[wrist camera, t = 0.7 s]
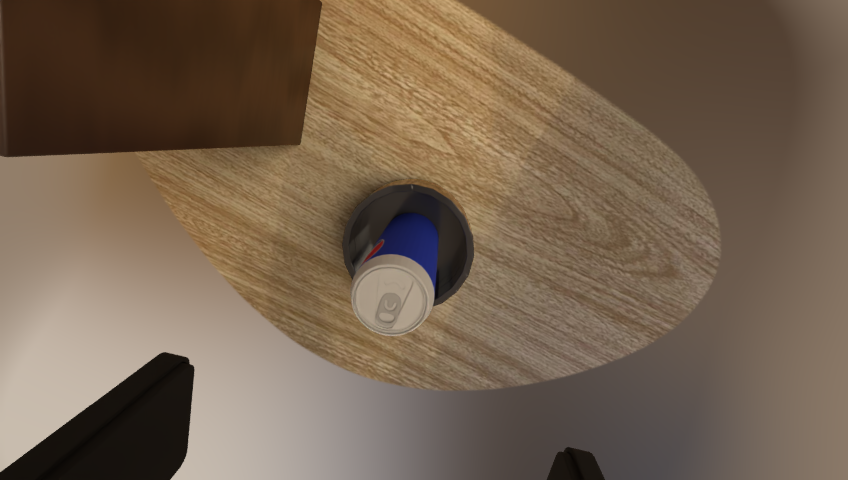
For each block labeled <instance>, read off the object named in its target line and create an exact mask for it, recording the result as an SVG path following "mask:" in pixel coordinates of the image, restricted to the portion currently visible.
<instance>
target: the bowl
mask: <svg viewBox="0 0 848 480" xmlns="http://www.w3.org/2000/svg"><path fill="white" fill-rule="evenodd" d="M405 213H416V214H420V215H423V216H425V217H426V218H428V219H429V220H430V221H431V222H432V223H433V224H434V226H435V228H436V230H437V232H438V238H439V243H438V256H437V270H436V283H435V297H434V303H433V306H436V305H438V304H441V303H443V302H444V301H446V300H447V299H448V298H450V297H451V296H452V295H453V294H455V293H456V292H457V291H458V290H459V288H460V287H461V286H462V284H463V283H464V281H465V280H466V278H467V277H468V275H469V272H470V269H471V265H472V262H473V258H474V244H473V234H472V230H471V227H470V224H469V221H468V219H467V216H466V213H465V211H464V209H463V207H462V206H461V205H460V203H459V202H458V201H457V200H456V199H455V197H454V196H453V195H452V194H451V193H450V192H448V191H447V190H445V189H444V188H442V187H441V186H438V185H437V184H435V183H431V182H428V181H425V180H419V179H403V180H396V181H394V182H391V183H389V184H386V185H384V186H382V187H380V188H378V189H377V190H375V191H374V192H373V193H371V194H370V195H369V196H368V197H367V198H366V199H364V200H363V201H362V202H361V203H360V204H359V205H358V206H357V207H356V208H355V209H354V211H353V213H352V215H351V216H350V218H349V220H348V222H347V223H346V227H345V232H344V237H343V242H342V247H343V254H344V262H345V265H346V267H347V269H348V271H349V274H350V276H351V278H352V280H353V277H354V275H355V274H356V272H357V270H358V269H359V267H360V266H361V264H362V263H363V261H364V260H365V258H366V257H367V255H368V254H369V252H370V251H371V250H372V248H373V247H374V245H375V244H376V242H377V241H378V239H379V238H380V236H381V235H382V233H383V232H384V230H385V229H386V227H387V226H388V224H389V223H390V222H391V221H392V220H393V219H394V218H395V217H397V216H399V215H401V214H405Z"/></svg>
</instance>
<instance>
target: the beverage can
mask: <svg viewBox="0 0 848 480" xmlns="http://www.w3.org/2000/svg"><path fill="white" fill-rule="evenodd" d="M438 243H439V238H438V232H437V230H436V228H435V226H434V224H433V223H432V222H431V221H430V220H429V219H428V218H426V217H425V216H423V215H420V214H416V213H405V214H401V215H399V216H397V217H395V218H394V219H393V220H392V221H391V222H390V223H389V224H388V226H387V227H386V229H385V230H384V232H383V233H382V235H381V236H380V238H379V239H378V241H377V242H376V244H375V245H374V247H373V248H372V250H371V251H370V252H369V254H368V255H367V257H366V258H365V260H364V261H363V263H362V264H361V266H360V267H359V269H358V270H357V272H356V274H355V275H354V277H353V280H352V283H351V302H352V307H353V310H354V313H355V314H356V316H357V318H358V319H359V320H360V322H361V323H362V324H363V325H364V326H365V327H367V328H368V329H370V330H371V331H373V332H375V333H378V334H381V335H386V336H399V335H403V334H406V333H409V332H411V331H413V330H414V329H416V328H417V327H418V326H419V325H420V324H421V323H422V322H424V320H425V319H426V318H427V317H428V315H429V314H430V312H431V310H432V307H433V303H434V297H435V283H436V270H437V256H438Z"/></svg>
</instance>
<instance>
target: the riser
mask: <svg viewBox="0 0 848 480" xmlns="http://www.w3.org/2000/svg"><path fill="white" fill-rule="evenodd" d="M321 6H322V2H321V1H320V0H0V156H4V157H20V156H45V155H68V154H92V153H114V152H139V151H162V150H186V149H209V148H233V147H256V146H280V145H300V143H301V136H302V130H303V123H304V116H305V110H306V103H307V97H308V90H309V84H310V77H311V71H312V64H313V58H314V51H315V45H316V38H317V32H318V25H319V19H320V12H321Z"/></svg>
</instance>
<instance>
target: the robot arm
mask: <svg viewBox="0 0 848 480" xmlns="http://www.w3.org/2000/svg"><path fill="white" fill-rule="evenodd" d="M193 379H194V366H193V365H190V364H189V359H188V358H187V357H183V356H179V355H174V354H170V353H166V352H164V353H161V354H159V355H158V356H156V357H155V358H154V359H152V360H151V361H150V362H148V363H147V364H145V365H144V366H143V367H142V368H140V369H139V370H137V371H136V372H135V373H133V374H132V375H131V376H129V377H128V378H127V379H126V380H124V381H123V382H121V383H120V384H119V385H117V386H116V387H115V388H113V389H112V390H111V391H109V392H108V393H107V394H105V395H104V396H103V397H101V398H100V399H99V400H97V401H96V402H95V403H93V404H92V405H90V406H89V407H87V408H86V409H85V410H84V411H82V412H81V413H79V414H78V415H77V416H75V417H74V418H73V419H71V420H70V421H69V422H67V423H66V424H65V425H63V426H62V427H61V428H59V429H58V430H56V431H55V432H54V433H52V434H51V435H50V436H48V437H47V438H46V439H44V440H43V441H42V442H40V443H39V444H38V445H36V446H35V447H34V448H33V449H31V450H30V451H28V452H27V453H26V454H24V455H23V456H22V457H20V458H19V459H18V460H16V461H15V462H14V463H12V464H11V465H10V466H8V467H7V468H5V469H4V470H3V471H2V472H0V480H170V479H171V478H172V477H173V475H174V474H175V473H176V472H177V471H178V469H179V468H180V467H181V465H182V463H183V462H184V459H185V457H186V453H187V448H188V436H189V425H190V414H191V402H192V391H193ZM547 480H605V479H604V477H603V475H602V472H601V470H600V468H599V466H598V464H597V462H596V460H595V457H594V456H593V454H592V453H590V452H587V451H582V450H579V449H574V448H570V447H567V448H566V449H565V450H564V452H558V453H557V455H556V457H555V460H554V462H553V465H552V468H551V470H550V473H549V475H548V478H547Z"/></svg>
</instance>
